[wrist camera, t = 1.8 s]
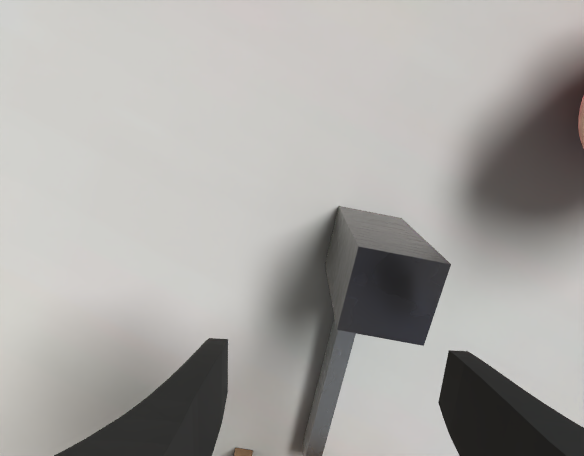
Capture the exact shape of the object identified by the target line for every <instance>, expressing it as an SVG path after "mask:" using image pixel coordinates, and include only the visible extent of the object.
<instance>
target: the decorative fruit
mask: <svg viewBox="0 0 584 456" xmlns="http://www.w3.org/2000/svg"><path fill="white" fill-rule="evenodd" d="M578 130H579V136H580V141H581V143H582V146H583V149H584V96H583V98H582V102H581V106H580V110H579V117H578Z"/></svg>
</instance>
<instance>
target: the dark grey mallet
mask: <svg viewBox="0 0 584 456" xmlns="http://www.w3.org/2000/svg"><path fill="white" fill-rule="evenodd" d="M450 266H451V264H450V263H449V262H448V261H447V260H446V259H445V258H444V257H443V256H442V255H441V254H439V253H438V252H437V251H436V250H435V249H434V248H433V247H432V246H431V245H430V244H429V243H428V242H426V241H425V240H424V239H423V238H422V237H421V236H420V235H419V234H418V233H417V232H416V231H415V230H414V229H412V228H411V227H410V226H409V225H408V224H407V223H406V222H405V221H404V220H403V219H402V218H397V217H392V216H387V215H382V214H377V213H372V212H367V211H361V210H356V209H351V208H346V207H341V206H339V207H338V212H337V216H336V220H335V224H334V229H333V233H332V237H331V241H330V245H329V250H328V254H327V258H326V262H325V269H326V274H327V280H328V285H329V290H330V296H331V301H332V306H333V312H334V321H333V325H332V329H331V333H330V337H329V341H328V345H327V349H326V352H325V356H324V360H323V364H322V368H321V372H320V376H319V380H318V384H317V388H316V392H315V396H314V400H313V404H312V408H311V412H310V415H309V419H308V423H307V427H306V431H305V435H304V439H303V456H322V454H323V450H324V447H325V443H326V440H327V436H328V432H329V429H330V425H331V421H332V418H333V414H334V410H335V407H336V403H337V400H338V396H339V392H340V389H341V385H342V381H343V378H344V374H345V371H346V367H347V363H348V360H349V356H350V352H351V349H352V345H353V341H354V338H355V334H356V333H357V334H363V335H368V336H374V337H379V338H385V339H390V340H396V341H401V342H407V343H412V344H417V345H423V346H424V343H425V340H426V337H427V334H428V331H429V328H430V325H431V322H432V319H433V316H434V313H435V310H436V307H437V304H438V301H439V298H440V295H441V292H442V289H443V286H444V283H445V280H446V277H447V275H448V272H449V269H450Z"/></svg>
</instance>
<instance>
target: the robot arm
mask: <svg viewBox="0 0 584 456" xmlns="http://www.w3.org/2000/svg"><path fill="white" fill-rule="evenodd" d="M227 392H228V339H213V338H209V339H208V340H206V341H205V342H204V343H203V345H202V346H201V347H200V348H199V349H198V350H197V351H196V352H195V353H194V354H193V355H192V356H191V357H190V358H189V359H188V360H187V361H186V362H185V363H184V364H183V365H182V366H181V367H180V368H179V369H178V370H177V371H176V372H175V373H174V374H173V375H172V376H171V377H170V378H169V379H168V380H167V381H165V382H164V383H163V384H162V385H161V386H160V387H159V388H157V389H156V390H155V391H154V392H153V393H152V394H150V395H149V396H148V397H147V398H146V399H144V400H143V401H142V402H141V403H139V404H138V405H137V406H135V407H134V408H133V409H131V410H130V411H128V412H127V413H126V414H124V415H123V416H121V417H120V418H118V419H117V420H115V421H114V422H112V423H110V424H109V425H107V426H106V427H104V428H102V429H101V430H99V431H98V432H96V433H94V434H93V435H91V436H90V437H88V438H86V439H84V440H83V441H81V442H79V443H77V444H75V445H74V446H72V447H70V448H68V449H66V450H64V451H62V452H60V453H58V454H56V455H54V456H212V453H213V450H214V447H215V443H216V440H217V437H218V434H219V430H220V427H221V424H222V419H223V414H224V409H225V403H226V398H227ZM439 406H440V409H441V412H442V415H443V418H444V421H445V424H446V426H447V429H448V432H449V434H450V437H451V439H452V441H453V443H454V445H455V447H456V449H457V451H458V453H459V455H460V456H584V428H583V427H581V426H580V425H578V424H576V423H575V422H573V421H571V420H569V419H568V418H566V417H565V416H563V415H561V414H560V413H558V412H557V411H555V410H554V409H552V408H550V407H549V406H547V405H546V404H544V403H543V402H541V401H540V400H538V399H537V398H535V397H534V396H532V395H531V394H529V393H528V392H526V391H525V390H523V389H522V388H520V387H519V386H518V385H516V384H515V383H513V382H512V381H510V380H509V379H508V378H506V377H505V376H503V375H502V374H501V373H499V372H498V371H496V370H495V369H493V368H492V367H491V366H489V365H488V364H486V363H485V362H483V361H482V360H480V359H479V358H477V357H476V356H474V355H473V354H471V353H469V352H468V351H449V353H448V358H447V363H446V368H445V373H444V378H443V383H442V388H441V393H440V398H439Z"/></svg>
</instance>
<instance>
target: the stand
mask: <svg viewBox="0 0 584 456" xmlns="http://www.w3.org/2000/svg"><path fill="white" fill-rule="evenodd" d="M252 453H253V451H252V450H246V449H240V448H235V453H234V456H252Z"/></svg>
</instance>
